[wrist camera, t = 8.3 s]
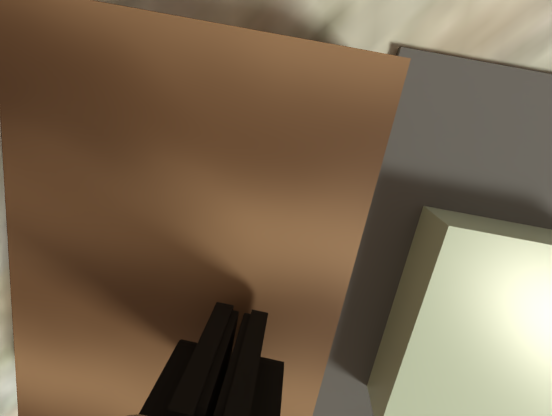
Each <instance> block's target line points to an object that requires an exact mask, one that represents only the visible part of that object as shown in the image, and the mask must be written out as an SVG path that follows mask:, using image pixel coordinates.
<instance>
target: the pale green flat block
mask: <svg viewBox="0 0 552 416" xmlns="http://www.w3.org/2000/svg"><path fill="white" fill-rule="evenodd" d="M367 389H368V393H369V397H370V402H371V406H372V411H373V415H374V416H552V230H551V229H546V228H541V227H535V226H530V225H524V224H519V223H514V222H508V221H503V220H498V219H492V218H487V217H481V216H476V215H471V214H465V213H460V212H454V211H449V210H444V209H438V208H433V207H428V206H423V209H422V212H421V215H420V219H419V222H418V225H417V228H416V231H415V234H414V238H413V241H412V244H411V247H410V250H409V254H408V257H407V260H406V263H405V266H404V269H403V273H402V276H401V279H400V282H399V285H398V289H397V292H396V295H395V298H394V301H393V305H392V308H391V311H390V314H389V317H388V320H387V324H386V327H385V330H384V333H383V336H382V340H381V343H380V346H379V349H378V352H377V355H376V359H375V362H374V365H373V368H372V371H371V375H370V378H369V381H368V384H367Z"/></svg>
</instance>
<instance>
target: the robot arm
mask: <svg viewBox="0 0 552 416" xmlns="http://www.w3.org/2000/svg"><path fill="white" fill-rule="evenodd" d="M233 308H234V305H230V304H225V303H220V302H216V304H215V306H214V309H213V311H212V313H211V315H210V317H209V319H208V322H207V324H206V326H205V328H204V330H203V332H202V334H201V337H200V339H199V341H198V343H196V342H192V341H187V340H183V339H181V340H179V342H178V343H177V345H176V347H175V349H174V351H173V352H172V354H171V356H170V358H169V360H168V361H167V363H166V365H165V367H164V369H163V371H162V372H161V374H160V376H159V378H158V380H157V381H156V383H155V385H154V387H153V389H152V391H151V392H150V394H149V396H148V398H147V400H146V401H145V403H144V405H143V407H142V409H141V411H140V412H139V414H136V415H127V416H280V414H281V401H282V388H283V375H284V362H282V361H278V360H273V359H269V358H264V357H261V351H262V346H263V340H264V335H265V329H266V323H267V318H268V313H266V312H262V311H257V310H253V309H252V311H251V314H249V313H244V315H243V318H242V321H241V325H240V328H239V331H238V335H237V338H236V341H235V345H234V348H233V343H234V337H235V332H236V327H237V321H238V316H239V311H235V310H233ZM232 348H233V351H232ZM231 354H232V355H231Z"/></svg>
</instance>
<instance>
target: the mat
mask: <svg viewBox="0 0 552 416" xmlns="http://www.w3.org/2000/svg"><path fill="white" fill-rule="evenodd" d="M397 56H400V57H406V58H411V60H410V64H409V67H408V71H407V75H406V78H405V82H404V86H403V89H402V93H401V96H400V100H399V104H398V107H397V111H396V115H395V118H394V122H393V125H392V129H391V133H390V136H389V140H388V144H387V147H386V151H385V154H384V158H383V162H382V165H381V169H380V173H379V176H378V180H377V183H376V187H375V191H374V194H373V198H372V202H371V205H370V209H369V212H368V216H367V220H366V223H365V227H364V231H363V234H362V238H361V241H360V245H359V249H358V252H357V256H356V260H355V263H354V267H353V271H352V274H351V278H350V281H349V285H348V289H347V292H346V296H345V300H344V303H343V307H342V310H341V314H340V318H339V321H338V325H337V329H336V332H335V336H334V339H333V343H332V347H331V350H330V354H329V358H328V361H327V365H326V368H325V372H324V376H323V379H322V383H321V387H320V390H319V394H318V397H317V401H316V405H315V408H314V412H313V416H374V415H373V411H372V406H371V402H370V397H369V393H368V389H367V384H368V381H369V378H370V375H371V371H372V368H373V365H374V362H375V359H376V355H377V352H378V349H379V346H380V343H381V340H382V336H383V333H384V330H385V327H386V324H387V320H388V317H389V314H390V311H391V308H392V305H393V301H394V298H395V295H396V292H397V289H398V285H399V282H400V279H401V276H402V273H403V269H404V266H405V263H406V260H407V257H408V254H409V250H410V247H411V244H412V241H413V238H414V234H415V231H416V228H417V225H418V222H419V219H420V215H421V212H422V209H423V206H428V207H433V208H438V209H444V210H449V211H454V212H460V213H465V214H471V215H476V216H481V217H487V218H492V219H498V220H503V221H508V222H514V223H519V224H524V225H530V226H535V227H541V228H546V229H551V230H552V74H548V73H543V72H537V71H532V70H526V69H521V68H515V67H510V66H504V65H499V64H493V63H488V62H482V61H477V60H471V59H466V58H460V57H455V56H449V55H444V54H438V53H433V52H427V51H422V50H416V49H411V48H405V47H400V48H399V49H398V53H397Z"/></svg>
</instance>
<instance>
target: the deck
mask: <svg viewBox="0 0 552 416" xmlns="http://www.w3.org/2000/svg"><path fill="white" fill-rule="evenodd" d="M410 60H411V58H406V57H400V56H395V55H389V54H384V53H378V52H373V51H367V50H362V49H357V48H351V47H346V46H340V45H335V44H329V43H324V42H318V41H313V40H307V39H302V38H296V37H291V36H285V35H280V34H274V33H269V32H263V31H258V30H253V29H247V28H242V27H236V26H231V25H225V24H220V23H214V22H209V21H203V20H198V19H192V18H187V17H181V16H176V15H170V14H165V13H159V12H154V11H148V10H143V9H138V8H132V7H127V6H121V5H116V4H110V3H105V2H99V1H94V0H0V120H1V137H2V153H3V170H4V186H5V203H6V219H7V236H8V252H9V269H10V285H11V302H12V318H13V335H14V351H15V368H16V384H17V401H18V416H127V415H136V414H139V412H140V411H141V409H142V407H143V405H144V403H145V401H146V400H147V398H148V396H149V394H150V392H151V391H152V389H153V387H154V385H155V383H156V381H157V380H158V378H159V376H160V374H161V372H162V371H163V369H164V367H165V365H166V363H167V361H168V360H169V358H170V356H171V354H172V352H173V351H174V349H175V347H176V345H177V343H178V342H179V340H181V339H183V340H187V341H192V342H196V343H198V341H199V339H200V337H201V334H202V332H203V330H204V328H205V326H206V324H207V322H208V319H209V317H210V315H211V313H212V311H213V309H214V306H215V304H216V302H220V303H225V304H230V305H234V308H233V310H235V311H239V316H238V321H237V327H236V332H235V337H234V343H233V348H234V345H235V341H236V338H237V335H238V331H239V328H240V325H241V321H242V318H243V315H244V313H249V314H251V311H252V309H253V310H257V311H262V312H266V313H268V318H267V323H266V329H265V335H264V340H263V346H262V351H261V357H264V358H269V359H273V360H278V361H282V362H284V375H283V388H282V401H281V414H280V416H313V412H314V408H315V405H316V401H317V397H318V394H319V390H320V387H321V383H322V379H323V376H324V372H325V368H326V365H327V361H328V358H329V354H330V350H331V347H332V343H333V339H334V336H335V332H336V329H337V325H338V321H339V318H340V314H341V310H342V307H343V303H344V300H345V296H346V292H347V289H348V285H349V281H350V278H351V274H352V271H353V267H354V263H355V260H356V256H357V252H358V249H359V245H360V241H361V238H362V234H363V231H364V227H365V223H366V220H367V216H368V212H369V209H370V205H371V202H372V198H373V194H374V191H375V187H376V183H377V180H378V176H379V173H380V169H381V165H382V162H383V158H384V154H385V151H386V147H387V144H388V140H389V136H390V133H391V129H392V125H393V122H394V118H395V115H396V111H397V107H398V104H399V100H400V96H401V93H402V89H403V86H404V82H405V78H406V75H407V71H408V67H409V64H410ZM233 348H232V351H233ZM231 355H232V354H231Z"/></svg>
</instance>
